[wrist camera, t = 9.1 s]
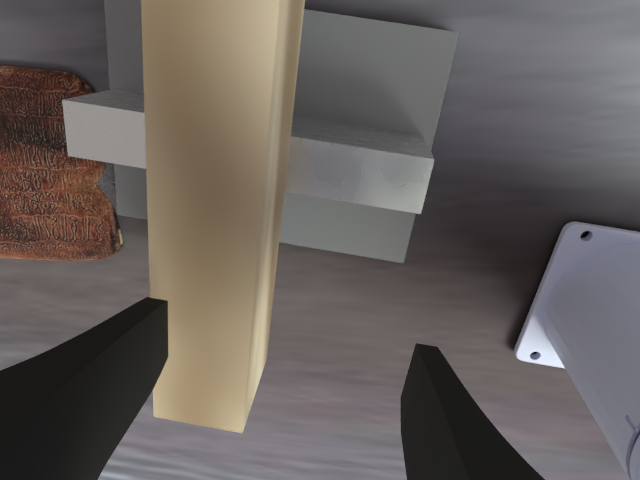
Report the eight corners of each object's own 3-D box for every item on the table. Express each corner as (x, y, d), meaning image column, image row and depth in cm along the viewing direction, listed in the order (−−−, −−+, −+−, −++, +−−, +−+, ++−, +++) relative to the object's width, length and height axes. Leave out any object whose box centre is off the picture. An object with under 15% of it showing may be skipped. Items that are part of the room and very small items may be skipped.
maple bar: (314, -89, 13) (291, -138, 9) (266, 358, 19) (242, 433, 16) (203, -104, 13) (136, -159, 9) (194, 345, 20) (153, 416, 16)
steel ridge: (422, 135, 19) (434, 159, 15) (412, 181, 20) (421, 214, 16) (120, 87, 19) (61, 99, 16) (123, 134, 20) (67, 156, 16)
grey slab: (453, 32, 18) (460, 32, 17) (401, 249, 23) (403, 263, 21) (121, -17, 19) (102, -21, 18) (132, 204, 23) (117, 214, 22)
